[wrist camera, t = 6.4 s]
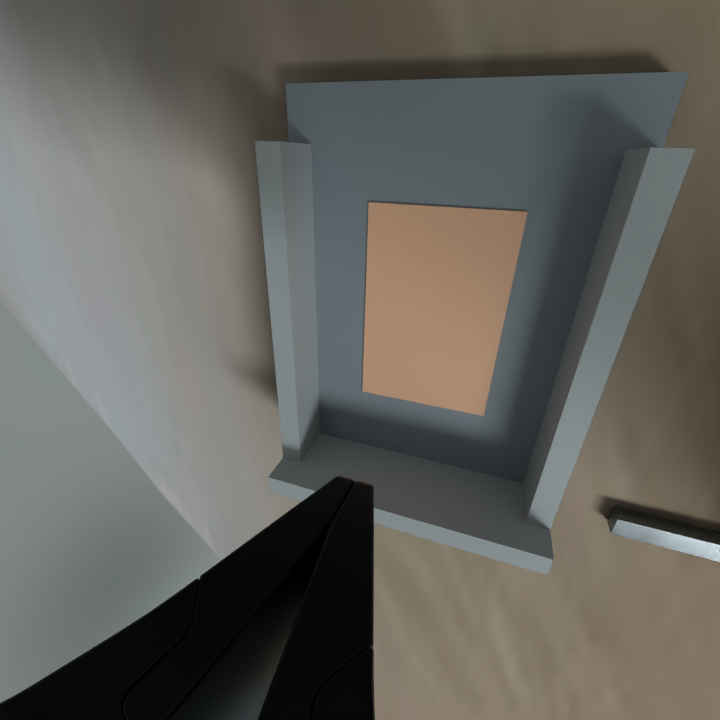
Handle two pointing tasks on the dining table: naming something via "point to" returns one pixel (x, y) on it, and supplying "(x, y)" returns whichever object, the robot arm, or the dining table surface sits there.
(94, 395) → the dining table surface
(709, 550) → the frame
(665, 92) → the grey open tray
